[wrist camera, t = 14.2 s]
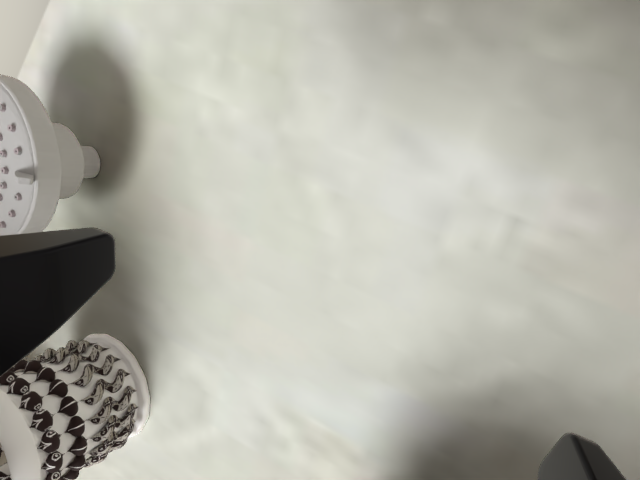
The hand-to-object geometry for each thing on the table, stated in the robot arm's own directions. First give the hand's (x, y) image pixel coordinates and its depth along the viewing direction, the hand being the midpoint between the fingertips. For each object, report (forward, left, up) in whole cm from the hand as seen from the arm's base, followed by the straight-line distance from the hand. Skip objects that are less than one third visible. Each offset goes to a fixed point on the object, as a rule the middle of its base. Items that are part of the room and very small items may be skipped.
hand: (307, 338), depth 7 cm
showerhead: (+23, +4, -13) cm, 27 cm away
